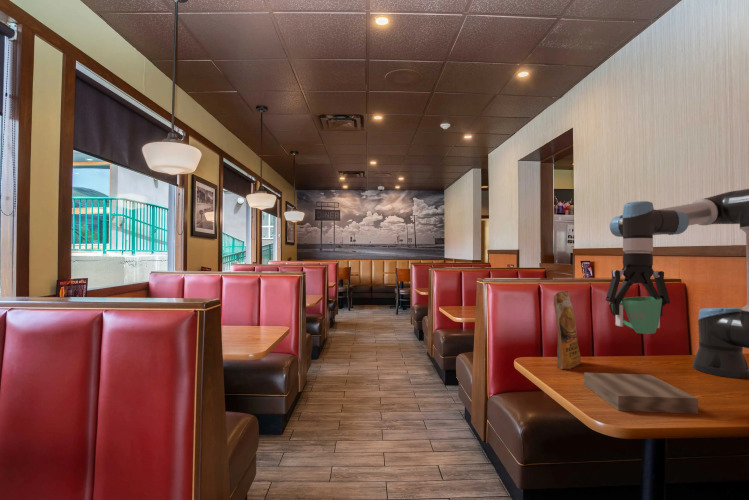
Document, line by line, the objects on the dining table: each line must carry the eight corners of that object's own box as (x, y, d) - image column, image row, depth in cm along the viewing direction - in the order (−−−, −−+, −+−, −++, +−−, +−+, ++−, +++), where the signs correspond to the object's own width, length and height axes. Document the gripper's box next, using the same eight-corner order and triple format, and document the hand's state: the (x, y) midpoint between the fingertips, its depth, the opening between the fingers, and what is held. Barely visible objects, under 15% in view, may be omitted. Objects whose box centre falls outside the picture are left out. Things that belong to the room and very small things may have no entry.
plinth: (649, 387, 119) (649, 374, 119) (698, 413, 99) (698, 398, 99) (584, 385, 120) (583, 372, 121) (618, 410, 101) (618, 395, 101)
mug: (673, 331, 108) (669, 297, 109) (653, 337, 104) (649, 301, 105) (622, 326, 122) (618, 295, 122) (603, 330, 118) (599, 299, 118)
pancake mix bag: (547, 367, 139) (547, 292, 140) (567, 358, 152) (567, 289, 152) (566, 372, 134) (565, 294, 135) (585, 362, 147) (585, 290, 147)
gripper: (668, 253, 116) (668, 325, 115) (593, 252, 118) (592, 322, 118) (686, 253, 108) (686, 330, 108) (604, 251, 111) (604, 327, 110)
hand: (637, 326), depth 113 cm, fingers closed on mug, 10 cm apart
